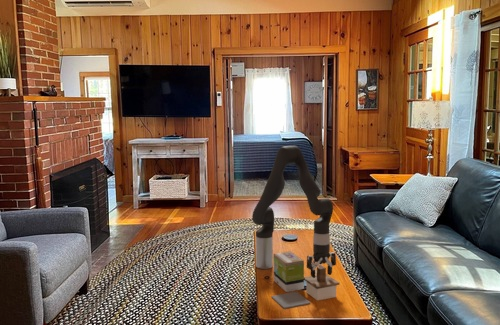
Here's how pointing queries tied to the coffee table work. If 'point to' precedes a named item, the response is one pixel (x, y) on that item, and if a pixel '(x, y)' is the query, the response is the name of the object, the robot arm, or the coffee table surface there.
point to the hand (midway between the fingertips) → (321, 275)
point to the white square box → (321, 292)
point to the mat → (290, 300)
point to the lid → (321, 279)
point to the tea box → (289, 271)
